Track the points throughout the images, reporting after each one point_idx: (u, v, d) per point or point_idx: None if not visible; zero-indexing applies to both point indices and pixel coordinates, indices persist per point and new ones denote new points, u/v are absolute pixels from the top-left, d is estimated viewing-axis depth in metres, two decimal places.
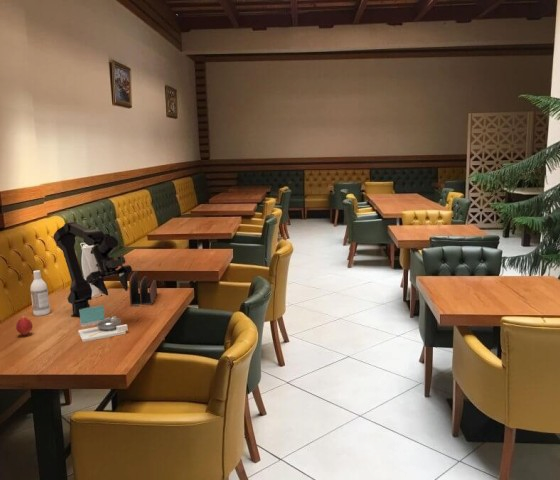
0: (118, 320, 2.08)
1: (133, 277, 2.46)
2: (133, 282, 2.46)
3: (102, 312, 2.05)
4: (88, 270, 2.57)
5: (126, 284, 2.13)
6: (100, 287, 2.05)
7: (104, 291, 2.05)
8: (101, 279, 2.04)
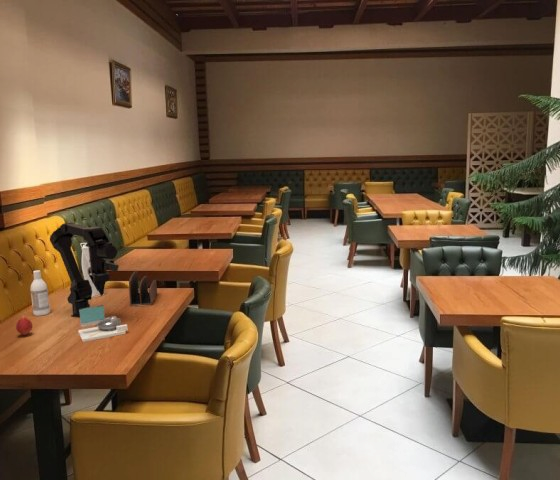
0: (118, 320, 2.08)
1: (133, 277, 2.46)
2: (133, 282, 2.46)
3: (102, 312, 2.05)
4: None
5: None
6: (99, 286, 2.15)
7: (101, 291, 2.16)
8: None
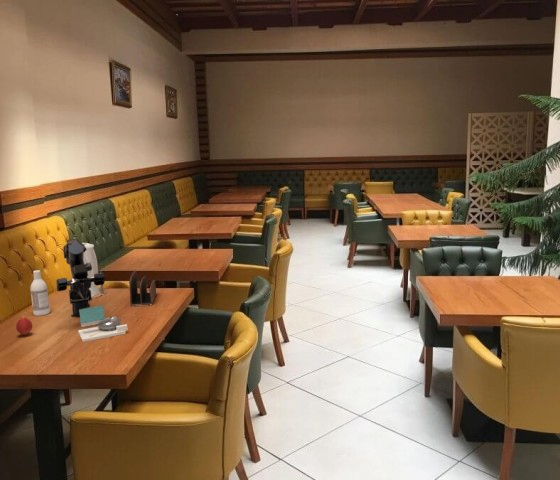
0: (118, 320, 2.08)
1: (133, 277, 2.46)
2: (133, 282, 2.46)
3: (102, 312, 2.05)
4: None
5: (85, 292, 2.10)
6: (79, 292, 2.11)
7: (81, 295, 2.10)
8: (77, 283, 2.10)
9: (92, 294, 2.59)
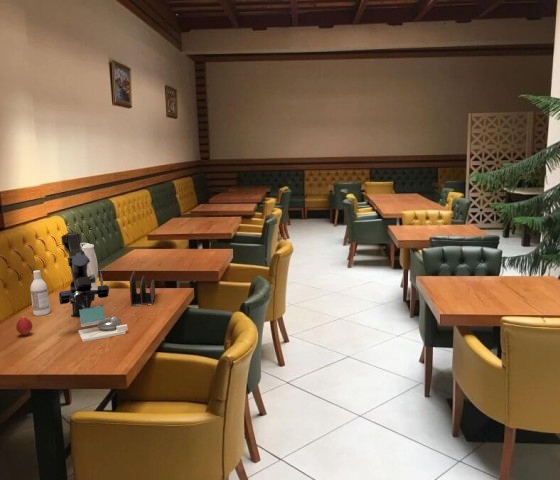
0: (118, 320, 2.08)
1: (132, 277, 2.46)
2: (133, 282, 2.46)
3: (102, 312, 2.05)
4: (88, 270, 2.57)
5: (88, 305, 2.04)
6: (82, 305, 2.05)
7: None
8: (80, 296, 2.04)
9: None
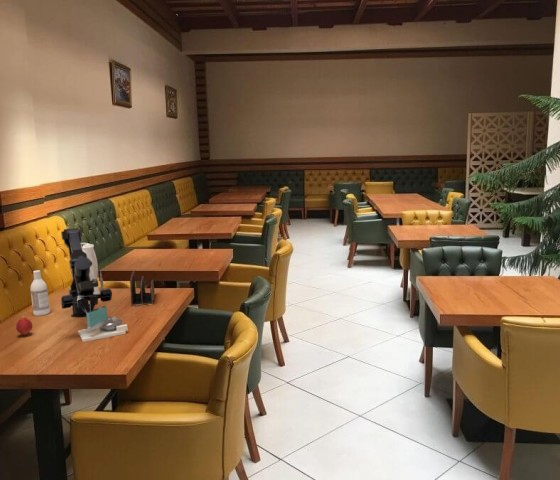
0: (118, 319, 2.09)
1: None
2: None
3: (105, 313, 2.04)
4: None
5: (91, 310, 2.00)
6: (84, 309, 2.01)
7: None
8: (83, 300, 1.99)
9: None
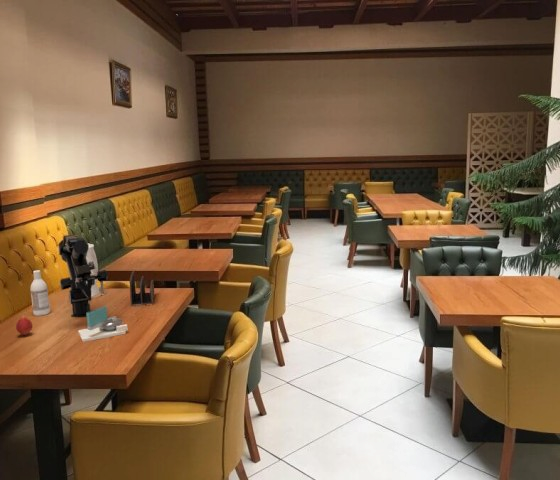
0: (118, 319, 2.09)
1: (132, 277, 2.46)
2: (132, 282, 2.46)
3: (105, 313, 2.04)
4: None
5: (89, 291, 2.12)
6: (83, 290, 2.13)
7: (85, 294, 2.12)
8: (81, 283, 2.11)
9: (92, 294, 2.59)
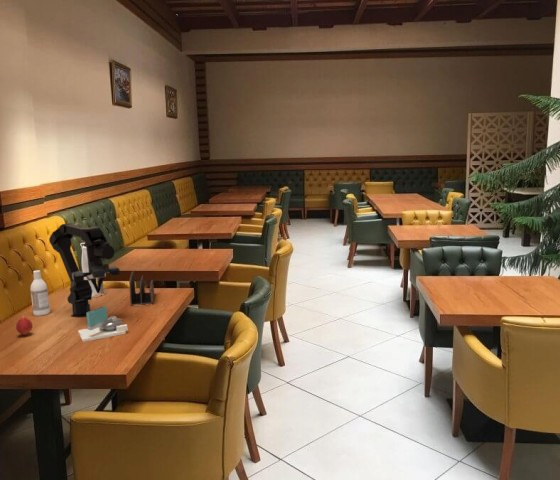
0: (118, 319, 2.09)
1: (132, 277, 2.46)
2: (132, 282, 2.46)
3: (105, 313, 2.04)
4: (88, 270, 2.57)
5: (99, 287, 2.19)
6: (93, 283, 2.19)
7: None
8: (93, 280, 2.16)
9: (92, 294, 2.59)
